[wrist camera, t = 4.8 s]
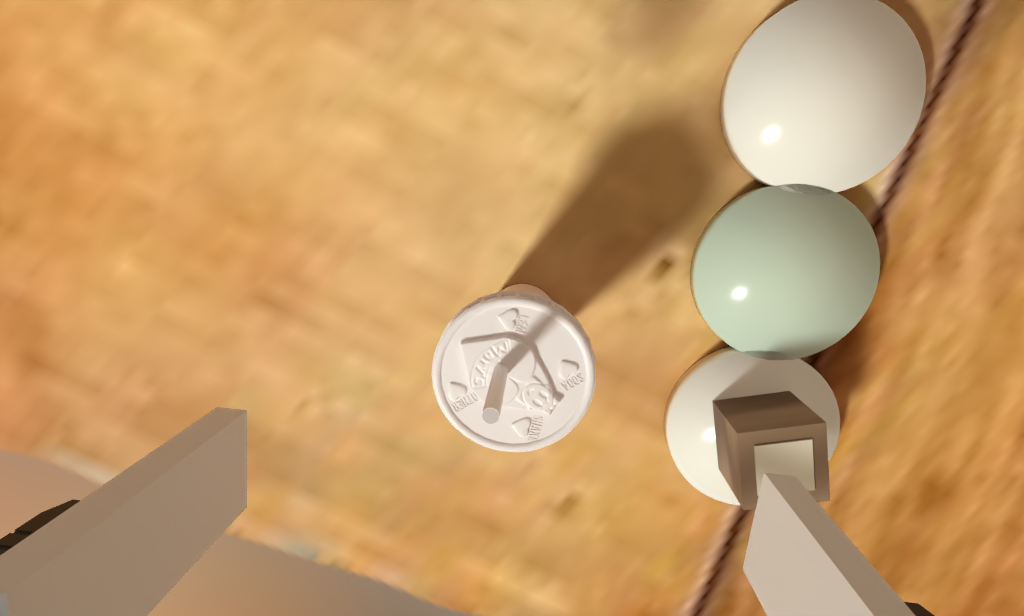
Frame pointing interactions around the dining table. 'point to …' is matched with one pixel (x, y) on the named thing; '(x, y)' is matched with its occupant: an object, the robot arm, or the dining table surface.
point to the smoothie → (514, 370)
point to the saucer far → (730, 379)
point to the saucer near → (823, 94)
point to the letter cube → (770, 444)
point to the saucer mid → (785, 271)
